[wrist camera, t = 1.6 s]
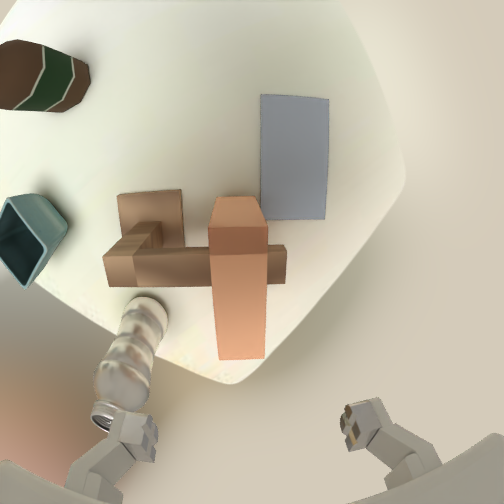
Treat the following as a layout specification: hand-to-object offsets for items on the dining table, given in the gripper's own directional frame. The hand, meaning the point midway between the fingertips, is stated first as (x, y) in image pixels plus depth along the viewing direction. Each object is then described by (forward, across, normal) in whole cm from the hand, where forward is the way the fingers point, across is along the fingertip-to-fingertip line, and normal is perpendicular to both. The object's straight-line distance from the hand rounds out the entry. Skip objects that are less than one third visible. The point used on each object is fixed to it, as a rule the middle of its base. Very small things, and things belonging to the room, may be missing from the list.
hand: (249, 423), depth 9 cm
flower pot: (+26, +27, -2) cm, 38 cm away
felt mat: (+26, -7, -9) cm, 28 cm away
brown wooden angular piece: (+26, +5, 0) cm, 26 cm away
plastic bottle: (+26, +13, +12) cm, 32 cm away
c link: (+22, 0, +1) cm, 22 cm away
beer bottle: (+26, +22, -21) cm, 40 cm away
